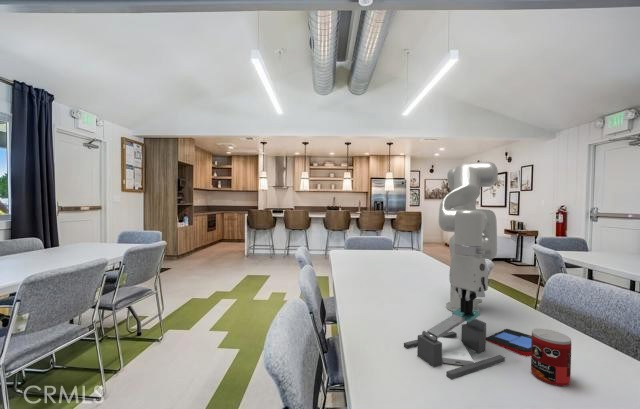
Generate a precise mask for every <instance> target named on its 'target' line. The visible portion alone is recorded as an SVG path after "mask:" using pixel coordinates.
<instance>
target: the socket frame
mask: <svg viewBox="0 0 640 409" xmlns="http://www.w3.org/2000/svg"><path fill="white" fill-rule="evenodd" d="M457 336H458V335H457V332H455V331H452V330H451V331H449V332H447V333H446V334H444V335H443V336H441V337H442V338H451V339H454V338H456V337H457ZM486 337H487V322H484V321H483V320H480V319H478V318H475V319H473V320H472V321H470V322H466V323H462V324H461V336H460V338H461V339H460V340H461V341H462V343H463V344H464V346H465V347H466V349H469V350H471V351H472V352H475V353H477V354H482V353H485V352H486V350H487V347H486V346H487V341H486ZM403 347H404V348H405V349H406V350H409V349H414V348H417V350H416V353H417V355H416V356H417V357H418V358H419V359H421V360H422V361H423V362H425V363H426V364H428V365H429V366H431V367H432V368H436V367H440V366H442V363H443V362H442V343H441V342H440V341H438V340H437V341H436V342H434V341H433V340H431V339H429V338H428V337H426V336H424V335H423V334H422V333H421V334H418V335H417V339H415V340H410V341H407V342H403ZM505 361H506V357H505V356H503V355H502V354H498V355H494V356H492V357H491V356H490V357H488V358H485V359H482V360H478V361H474V363H472V364H468V365H461V366H459V367H456V368H453V369H450V370H447V371H446V375H445V376H446V377H447V378H449V380H454V379H457V378H460V377H463V376H466V375H469V374H472V373H475V372H478V371H481V370H483V369H487V368H490V367H493V366H496V365H499V364H502V363H505Z"/></svg>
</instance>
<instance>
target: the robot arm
mask: <svg viewBox="0 0 640 409" xmlns="http://www.w3.org/2000/svg"><path fill="white" fill-rule="evenodd" d="M498 177H499V171H498V167H497V165H496V164H495V163H494V162H492V161H477V162H476V161H473V162H472V161H471V162H462V163H460V164H458V165H457V166H456V167H454V168H453V167H452V168H450V169H449V170H448V172H447V178H446V179H447V184H448V187H449V190H450V191H449V192H448V193H447V194H446V195H445V196H444V197H443V198H442V200H441V202H440V204H439V211H438V225H439V227H440V229H441V230H442V231H444V232H447V233H449V232H450V233H453V235H452V236H451V237H450V238H449V241H448V246H449V247H448V248H449V253H450V264H449V265H450V266H449V274H448V277H449V283H450V291H449V292H450V293H449V294H450V295H449V302H446V304H445V307H446V308H447V310H449V311H451V312H454V311H455V310H457V309H459V308H460V307H461V312H462V313H465V314H468V313H472V312H473V310H475V311H478V312H480V308H479V307H478V306H477V305H478V304H482V303H483V299H482V298H485V296H486V294H485V292H486V291H488V289H489V276H488V273H489V272H488V268H487V267H488V266H487V262H486V260H493V259H495V258H496V256H497V254H498V253H497V252H498V227H497V216H496V214H495V212H494V211H493V210H490V209H483V208H480V209H477V208H476V205H477V204H476V202H477V201H476V200H477V199H478V198H479V197H480V195H481V187H482V188H488V187H492V186H493V185H495V184H496V183H497V181H498Z"/></svg>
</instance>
